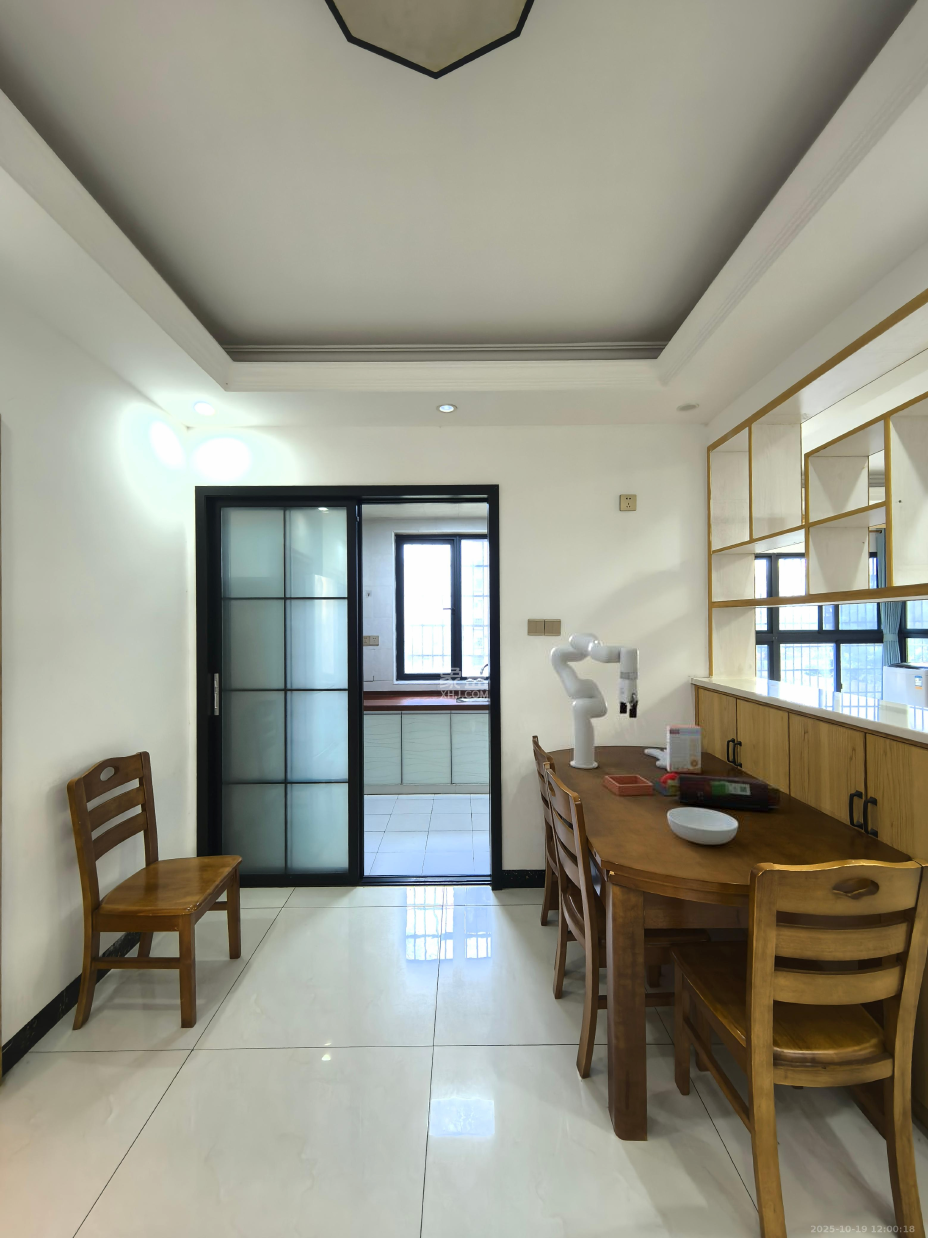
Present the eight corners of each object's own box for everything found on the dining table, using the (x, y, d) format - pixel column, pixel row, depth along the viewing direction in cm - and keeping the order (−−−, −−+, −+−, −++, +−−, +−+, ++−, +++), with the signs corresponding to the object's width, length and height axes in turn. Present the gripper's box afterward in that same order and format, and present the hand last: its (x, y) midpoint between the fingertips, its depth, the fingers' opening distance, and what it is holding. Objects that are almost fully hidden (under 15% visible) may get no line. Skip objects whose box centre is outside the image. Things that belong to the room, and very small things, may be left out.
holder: (658, 769, 274) (659, 758, 274) (642, 752, 308) (643, 742, 308) (701, 770, 272) (701, 759, 272) (680, 753, 306) (680, 743, 306)
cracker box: (697, 770, 272) (697, 725, 272) (701, 774, 266) (701, 727, 266) (665, 769, 273) (666, 724, 273) (669, 772, 267) (669, 726, 267)
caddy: (604, 785, 247) (604, 775, 247) (637, 784, 249) (637, 774, 249) (618, 795, 232) (618, 785, 232) (653, 794, 234) (653, 784, 234)
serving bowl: (702, 857, 174) (702, 833, 174) (653, 832, 193) (653, 811, 193) (753, 846, 182) (753, 824, 182) (701, 824, 201) (701, 804, 201)
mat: (645, 783, 250) (645, 782, 250) (676, 782, 252) (676, 781, 252) (665, 796, 232) (665, 795, 232) (698, 795, 234) (698, 794, 234)
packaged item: (668, 804, 222) (668, 778, 221) (665, 797, 231) (666, 771, 231) (782, 814, 212) (783, 786, 212) (775, 805, 222) (775, 779, 222)
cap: (663, 790, 239) (663, 775, 239) (659, 786, 245) (659, 771, 245) (683, 790, 239) (683, 775, 239) (678, 786, 245) (678, 771, 245)
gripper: (612, 673, 262) (611, 712, 262) (629, 678, 245) (628, 719, 245) (628, 673, 263) (627, 712, 263) (646, 678, 246) (645, 719, 246)
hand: (628, 715), depth 254 cm, fingers open, 9 cm apart
